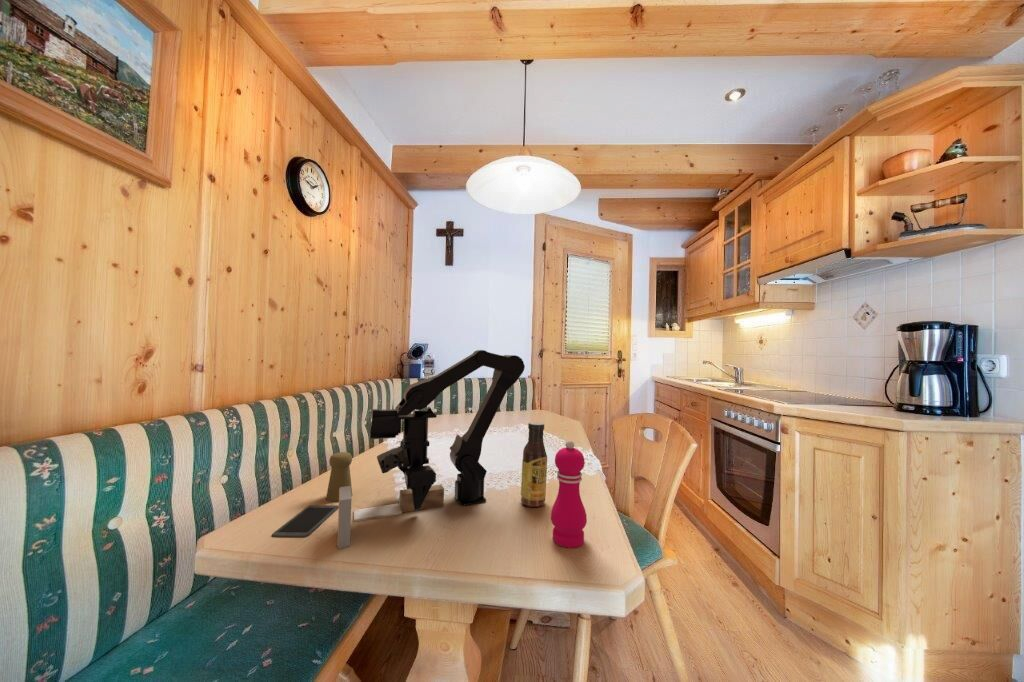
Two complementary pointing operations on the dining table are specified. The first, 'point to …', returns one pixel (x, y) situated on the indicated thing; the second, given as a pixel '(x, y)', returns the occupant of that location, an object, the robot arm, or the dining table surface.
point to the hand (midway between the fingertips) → (413, 501)
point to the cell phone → (306, 521)
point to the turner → (402, 504)
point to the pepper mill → (569, 498)
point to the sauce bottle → (534, 467)
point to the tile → (344, 517)
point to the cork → (339, 475)
